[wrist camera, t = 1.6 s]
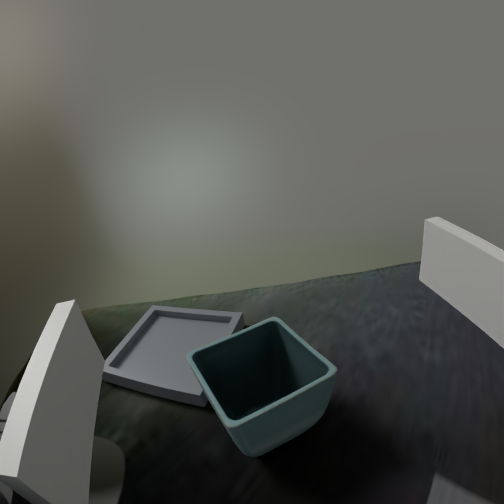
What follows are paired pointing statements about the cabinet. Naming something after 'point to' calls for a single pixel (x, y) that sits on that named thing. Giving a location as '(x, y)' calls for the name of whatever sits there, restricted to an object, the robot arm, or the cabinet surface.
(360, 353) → the cabinet surface
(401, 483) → the cabinet surface
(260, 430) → the flower pot
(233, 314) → the plant tray
